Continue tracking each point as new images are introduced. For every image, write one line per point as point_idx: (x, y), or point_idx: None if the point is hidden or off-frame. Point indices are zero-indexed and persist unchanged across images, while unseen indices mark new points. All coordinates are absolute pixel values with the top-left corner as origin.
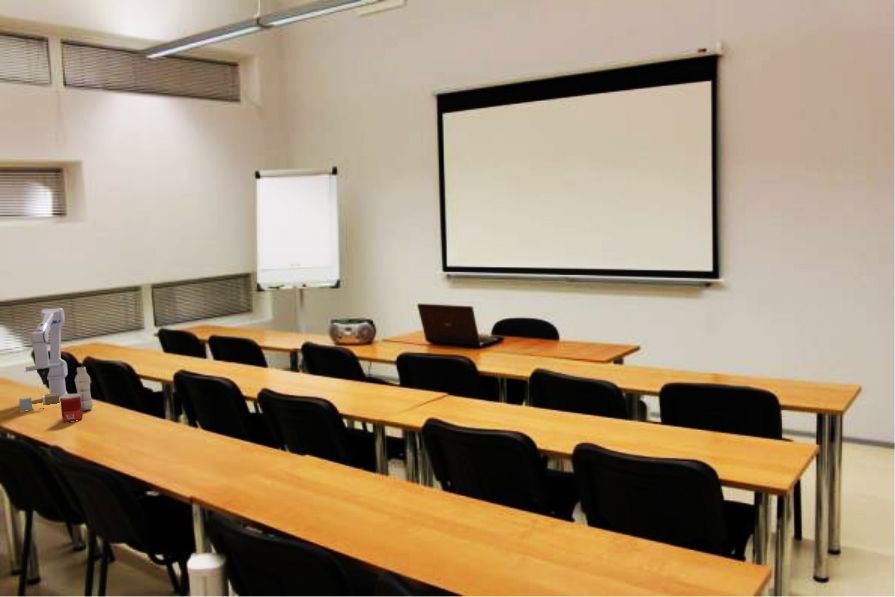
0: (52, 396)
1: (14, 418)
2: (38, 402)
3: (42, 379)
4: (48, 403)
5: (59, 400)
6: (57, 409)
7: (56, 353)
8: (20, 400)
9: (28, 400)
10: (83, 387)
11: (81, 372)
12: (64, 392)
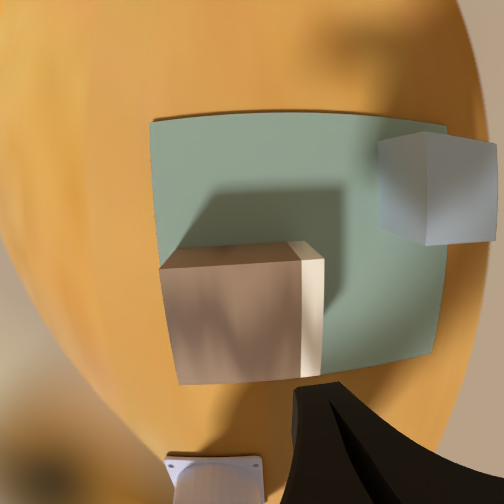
0: (223, 264)
1: (436, 4)
2: None
3: (382, 429)
4: (264, 245)
5: None
6: (190, 42)
7: None
8: (490, 153)
9: (440, 135)
10: None
11: None
12: (179, 479)
